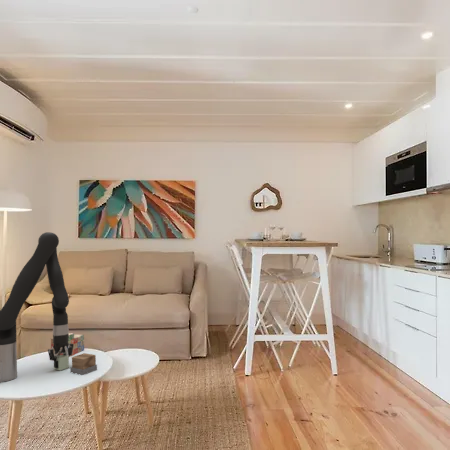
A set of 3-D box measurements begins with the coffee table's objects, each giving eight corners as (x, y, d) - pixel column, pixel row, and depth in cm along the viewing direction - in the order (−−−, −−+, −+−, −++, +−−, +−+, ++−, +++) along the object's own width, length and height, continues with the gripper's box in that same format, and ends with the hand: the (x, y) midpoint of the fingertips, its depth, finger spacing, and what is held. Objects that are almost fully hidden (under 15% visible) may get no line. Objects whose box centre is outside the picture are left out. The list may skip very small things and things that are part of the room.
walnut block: (83, 369, 202) (83, 359, 203) (72, 367, 206) (71, 357, 206) (95, 364, 209) (95, 354, 210) (84, 362, 213) (84, 353, 213)
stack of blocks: (75, 349, 249) (75, 329, 249) (84, 350, 247) (84, 329, 248) (51, 360, 229) (50, 337, 229) (60, 361, 227) (60, 338, 227)
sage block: (60, 370, 209) (60, 358, 209) (53, 368, 211) (53, 357, 212) (68, 367, 213) (68, 355, 213) (62, 366, 216) (62, 354, 216)
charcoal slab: (82, 376, 202) (82, 370, 202) (70, 373, 207) (70, 367, 207) (97, 370, 209) (96, 364, 210) (85, 368, 214) (85, 362, 214)
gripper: (68, 329, 221) (68, 361, 220) (43, 335, 209) (44, 369, 208) (77, 331, 217) (77, 363, 216) (53, 337, 205) (53, 371, 204)
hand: (61, 366), depth 212 cm, fingers closed on sage block, 5 cm apart
